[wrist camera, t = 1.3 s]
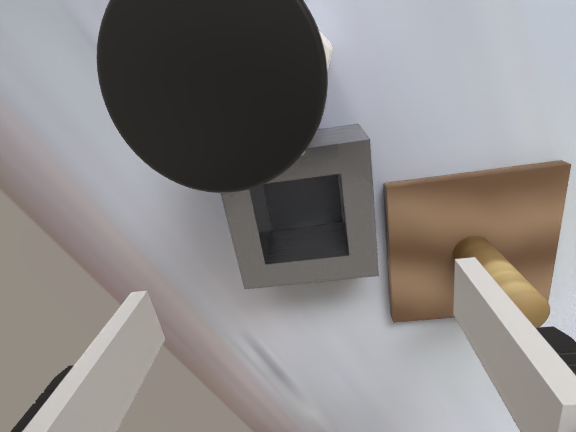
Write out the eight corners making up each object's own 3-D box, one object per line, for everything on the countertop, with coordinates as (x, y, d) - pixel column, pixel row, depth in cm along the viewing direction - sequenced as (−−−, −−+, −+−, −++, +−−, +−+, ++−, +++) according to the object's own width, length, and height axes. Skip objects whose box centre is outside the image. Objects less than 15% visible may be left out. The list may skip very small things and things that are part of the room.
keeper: (383, 183, 26) (413, 232, 18) (561, 160, 24) (668, 203, 17) (390, 314, 30) (416, 395, 23) (539, 301, 29) (616, 382, 22)
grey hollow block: (230, 142, 25) (213, 161, 21) (358, 123, 24) (369, 139, 20) (254, 252, 29) (244, 289, 24) (367, 239, 28) (378, 275, 23)
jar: (307, -23, 21) (305, -111, 10) (338, 114, 24) (362, 162, 13) (169, 24, 22) (35, -7, 11) (215, 148, 25) (144, 217, 14)
